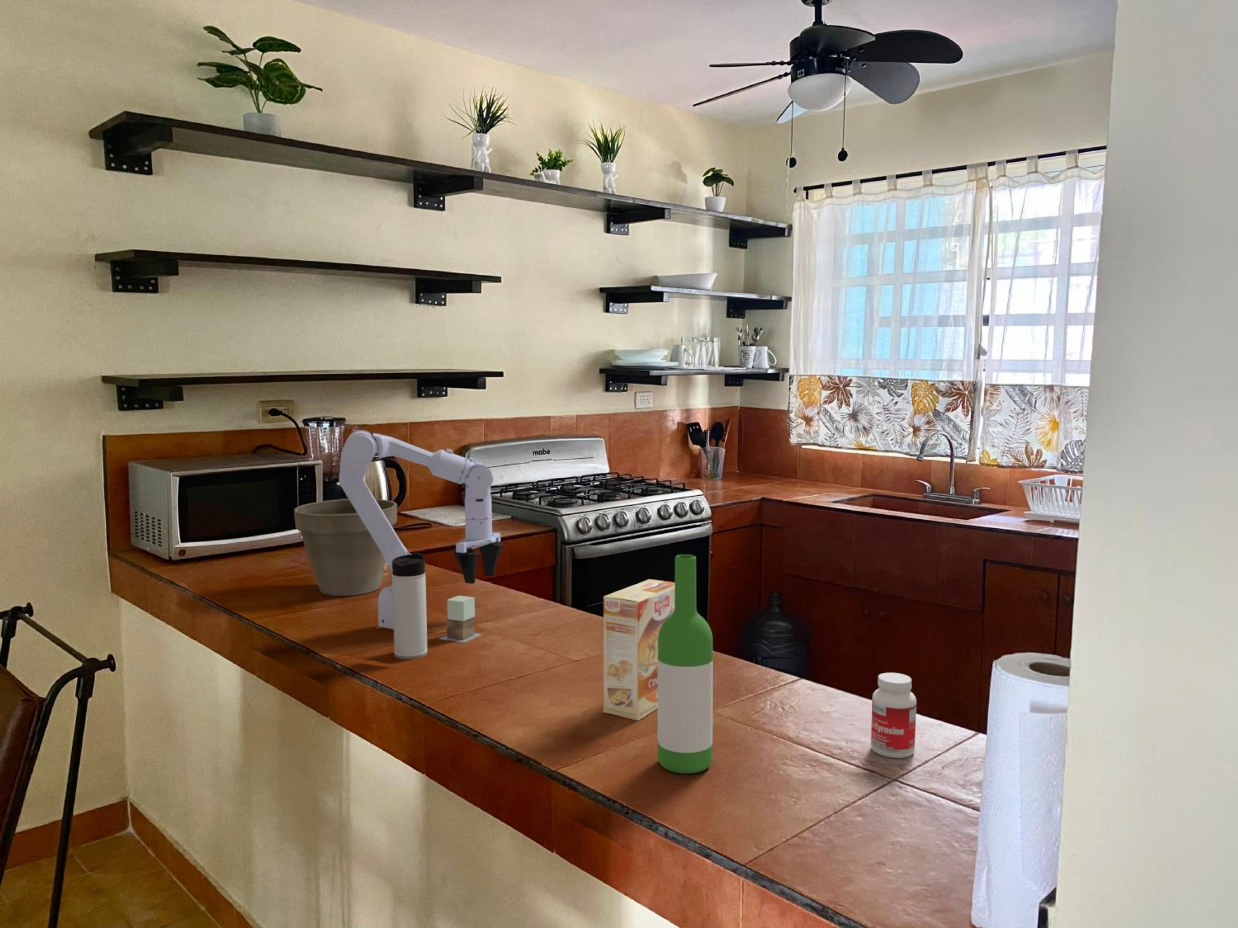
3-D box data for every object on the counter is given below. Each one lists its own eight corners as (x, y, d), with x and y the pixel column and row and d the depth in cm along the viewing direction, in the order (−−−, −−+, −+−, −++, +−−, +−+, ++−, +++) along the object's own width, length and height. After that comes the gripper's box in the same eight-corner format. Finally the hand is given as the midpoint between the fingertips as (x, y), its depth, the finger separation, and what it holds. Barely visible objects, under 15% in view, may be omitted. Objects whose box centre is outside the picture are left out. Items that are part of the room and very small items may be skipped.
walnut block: (447, 637, 192) (446, 618, 192) (458, 632, 196) (457, 614, 196) (463, 640, 191) (462, 620, 190) (474, 634, 194) (473, 616, 194)
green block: (447, 618, 192) (447, 599, 192) (458, 614, 196) (458, 595, 195) (463, 621, 190) (463, 601, 190) (474, 616, 194) (474, 597, 193)
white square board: (419, 643, 191) (419, 640, 191) (453, 628, 201) (453, 625, 201) (468, 651, 186) (468, 647, 186) (501, 635, 196) (500, 632, 196)
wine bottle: (708, 752, 136) (709, 550, 133) (716, 775, 129) (717, 561, 126) (655, 753, 136) (655, 550, 133) (659, 776, 128) (659, 562, 125)
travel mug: (434, 653, 184) (431, 553, 182) (416, 663, 178) (413, 560, 176) (406, 650, 186) (403, 551, 184) (388, 660, 180) (385, 558, 178)
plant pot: (322, 607, 220) (319, 516, 218) (281, 589, 238) (278, 504, 236) (417, 590, 236) (415, 505, 234) (372, 574, 255) (369, 495, 253)
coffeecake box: (639, 721, 149) (638, 601, 147) (601, 712, 152) (600, 595, 150) (683, 693, 161) (683, 582, 159) (647, 686, 165) (647, 577, 163)
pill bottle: (863, 751, 137) (865, 678, 135) (881, 738, 141) (883, 667, 140) (904, 763, 133) (906, 687, 131) (921, 749, 137) (923, 676, 136)
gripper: (475, 524, 195) (476, 588, 196) (511, 514, 208) (512, 574, 209) (447, 522, 198) (448, 584, 199) (484, 512, 211) (486, 571, 212)
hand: (479, 579), depth 205 cm, fingers open, 7 cm apart
